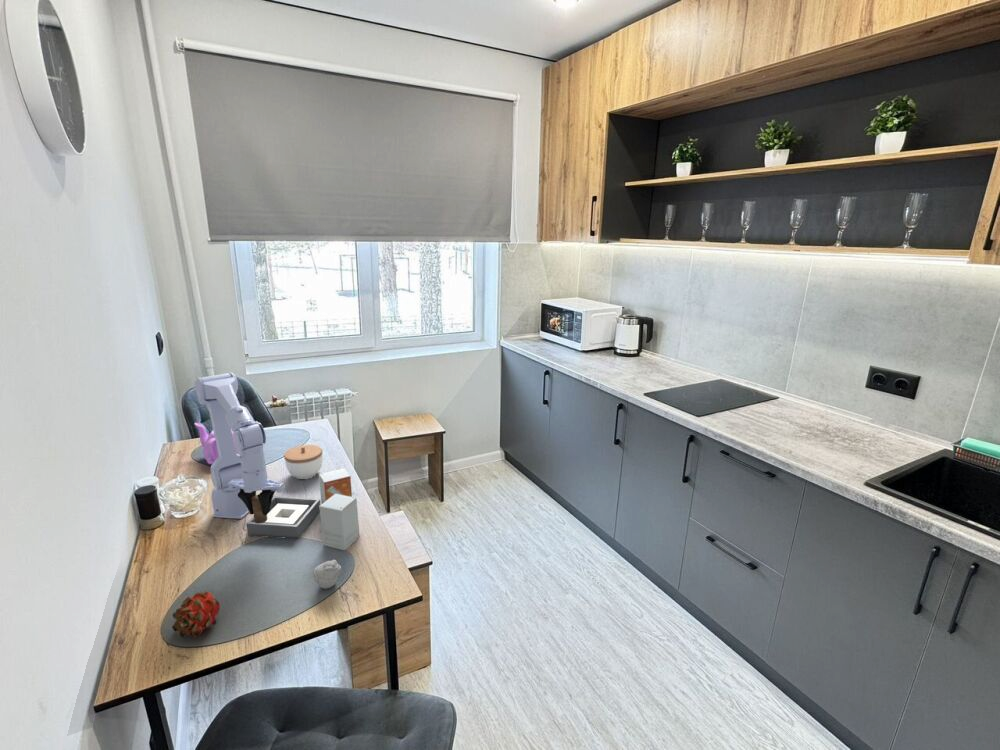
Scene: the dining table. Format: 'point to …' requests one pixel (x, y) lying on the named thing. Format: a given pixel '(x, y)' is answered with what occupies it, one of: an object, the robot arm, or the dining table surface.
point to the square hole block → (286, 517)
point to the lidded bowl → (303, 461)
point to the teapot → (209, 444)
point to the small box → (335, 484)
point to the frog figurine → (327, 574)
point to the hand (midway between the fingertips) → (260, 512)
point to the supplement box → (339, 521)
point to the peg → (258, 510)
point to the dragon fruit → (196, 614)
